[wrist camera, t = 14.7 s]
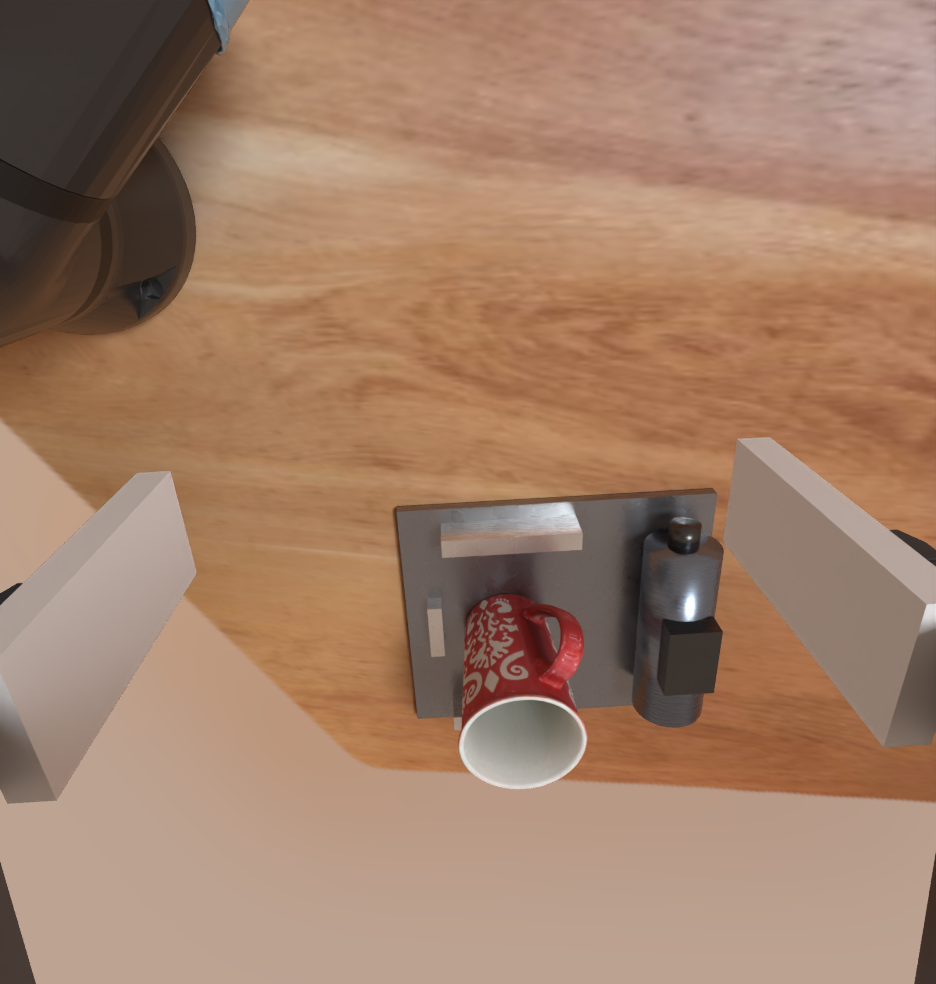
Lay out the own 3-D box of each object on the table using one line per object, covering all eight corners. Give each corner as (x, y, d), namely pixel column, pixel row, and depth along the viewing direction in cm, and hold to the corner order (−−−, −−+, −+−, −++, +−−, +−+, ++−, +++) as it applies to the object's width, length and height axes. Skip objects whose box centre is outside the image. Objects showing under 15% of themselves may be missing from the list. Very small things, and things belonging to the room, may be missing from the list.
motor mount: (417, 711, 64) (415, 784, 56) (397, 506, 54) (390, 560, 46) (686, 694, 64) (720, 764, 56) (712, 488, 55) (757, 538, 47)
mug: (521, 682, 61) (541, 806, 49) (435, 643, 59) (435, 764, 47) (600, 581, 57) (644, 690, 45) (511, 535, 55) (533, 637, 42)
